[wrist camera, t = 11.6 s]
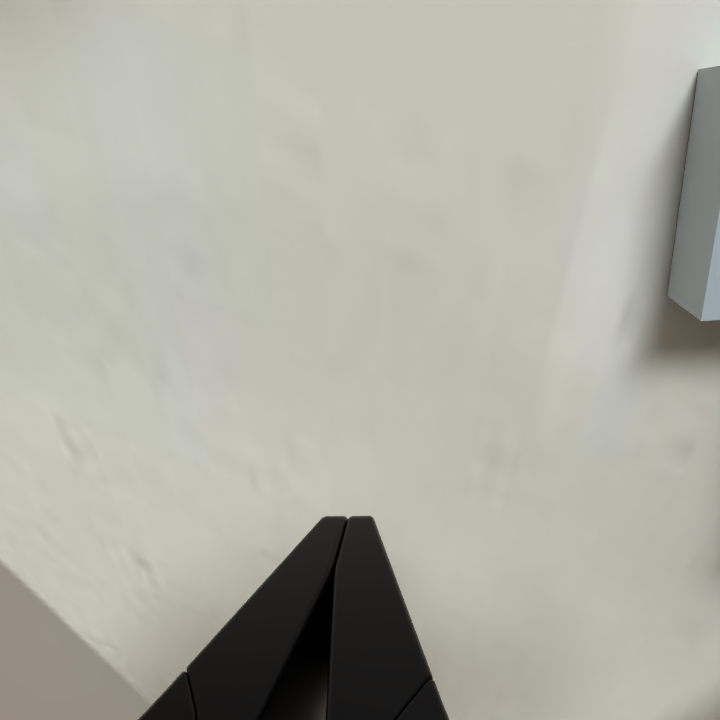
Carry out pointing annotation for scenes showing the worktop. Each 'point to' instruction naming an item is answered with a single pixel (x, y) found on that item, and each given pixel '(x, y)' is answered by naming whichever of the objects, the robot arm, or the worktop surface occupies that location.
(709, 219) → the pale blue eraser
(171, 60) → the worktop surface
